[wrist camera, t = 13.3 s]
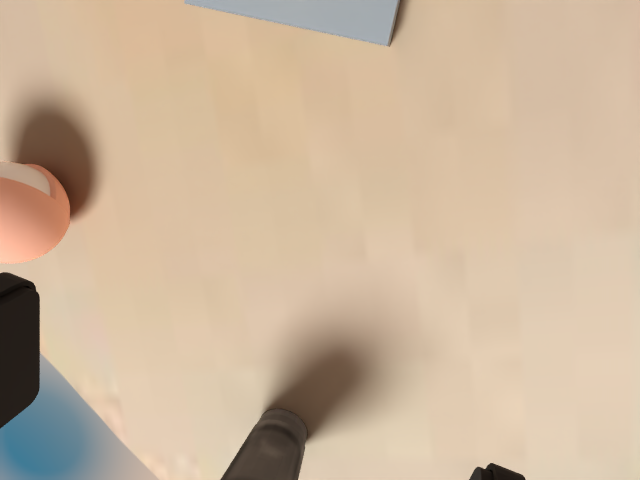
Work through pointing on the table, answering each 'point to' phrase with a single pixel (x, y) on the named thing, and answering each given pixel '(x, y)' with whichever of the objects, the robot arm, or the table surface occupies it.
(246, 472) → the beverage cup
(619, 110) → the table surface
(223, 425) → the table surface
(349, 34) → the block
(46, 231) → the toy ball
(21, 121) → the table surface
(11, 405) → the robot arm
